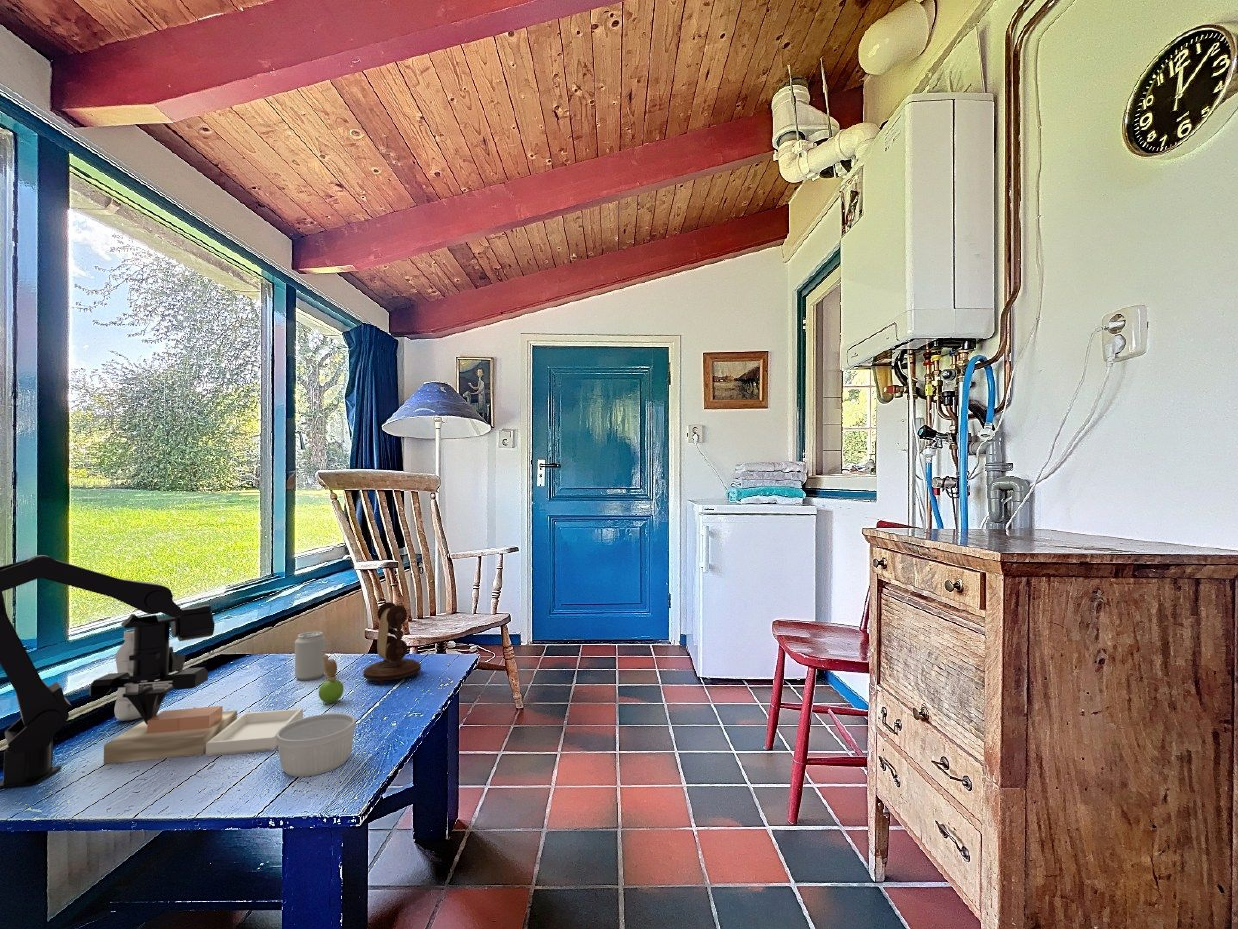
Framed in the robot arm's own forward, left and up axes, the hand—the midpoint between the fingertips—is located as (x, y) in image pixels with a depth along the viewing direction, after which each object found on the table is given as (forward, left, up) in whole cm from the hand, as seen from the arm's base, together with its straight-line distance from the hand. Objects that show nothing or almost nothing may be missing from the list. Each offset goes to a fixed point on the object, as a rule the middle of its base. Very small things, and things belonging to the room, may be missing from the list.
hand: (149, 724), depth 118 cm
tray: (0, -20, -4) cm, 21 cm away
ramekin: (-16, -37, -5) cm, 40 cm away
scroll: (+36, -40, -5) cm, 54 cm away
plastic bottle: (+18, +13, -5) cm, 23 cm away
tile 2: (0, -9, -1) cm, 9 cm away
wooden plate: (0, -5, -4) cm, 6 cm away
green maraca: (+19, -29, -5) cm, 35 cm away
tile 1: (0, -4, -1) cm, 4 cm away
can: (+42, -17, -5) cm, 45 cm away
